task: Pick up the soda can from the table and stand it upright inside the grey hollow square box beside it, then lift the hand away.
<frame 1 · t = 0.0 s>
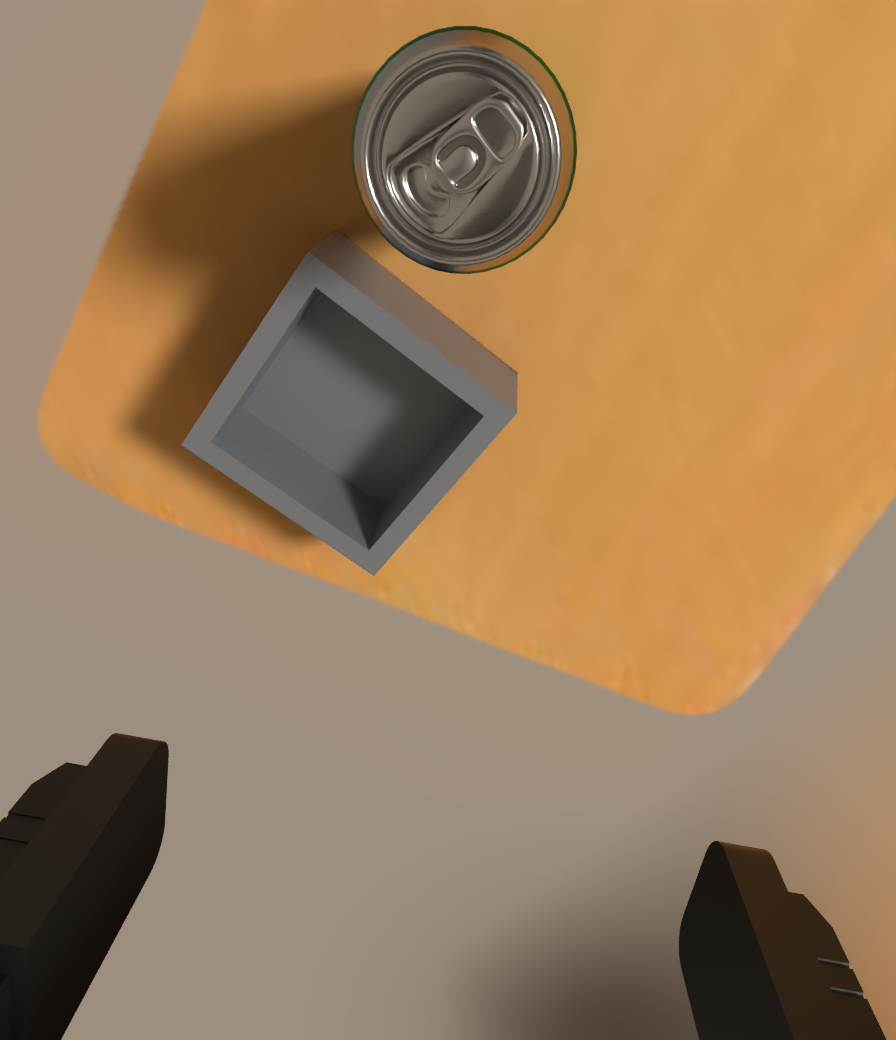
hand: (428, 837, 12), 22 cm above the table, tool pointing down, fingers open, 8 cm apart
grey hollow square box: (365, 388, 32), on the table
soda can: (483, 135, 28), on the table
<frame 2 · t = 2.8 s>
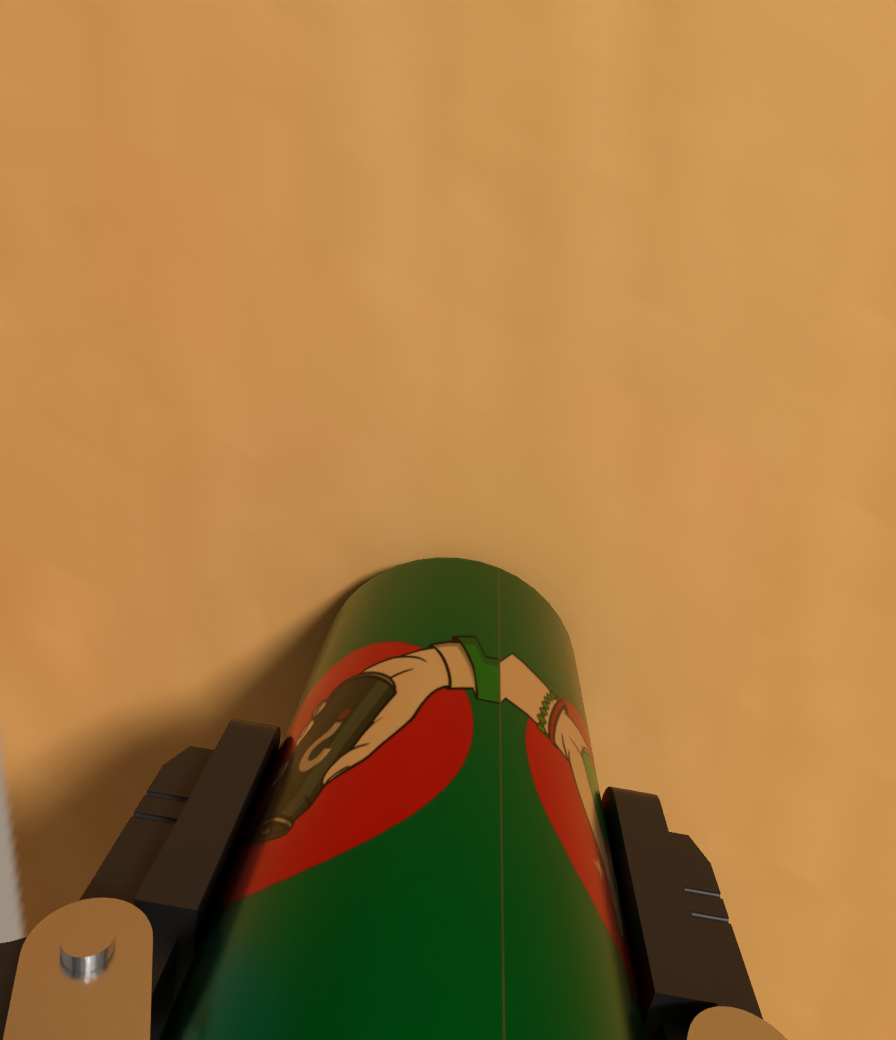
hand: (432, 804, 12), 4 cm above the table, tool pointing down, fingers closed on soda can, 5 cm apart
soda can: (450, 653, 17), on the table, touching gripper
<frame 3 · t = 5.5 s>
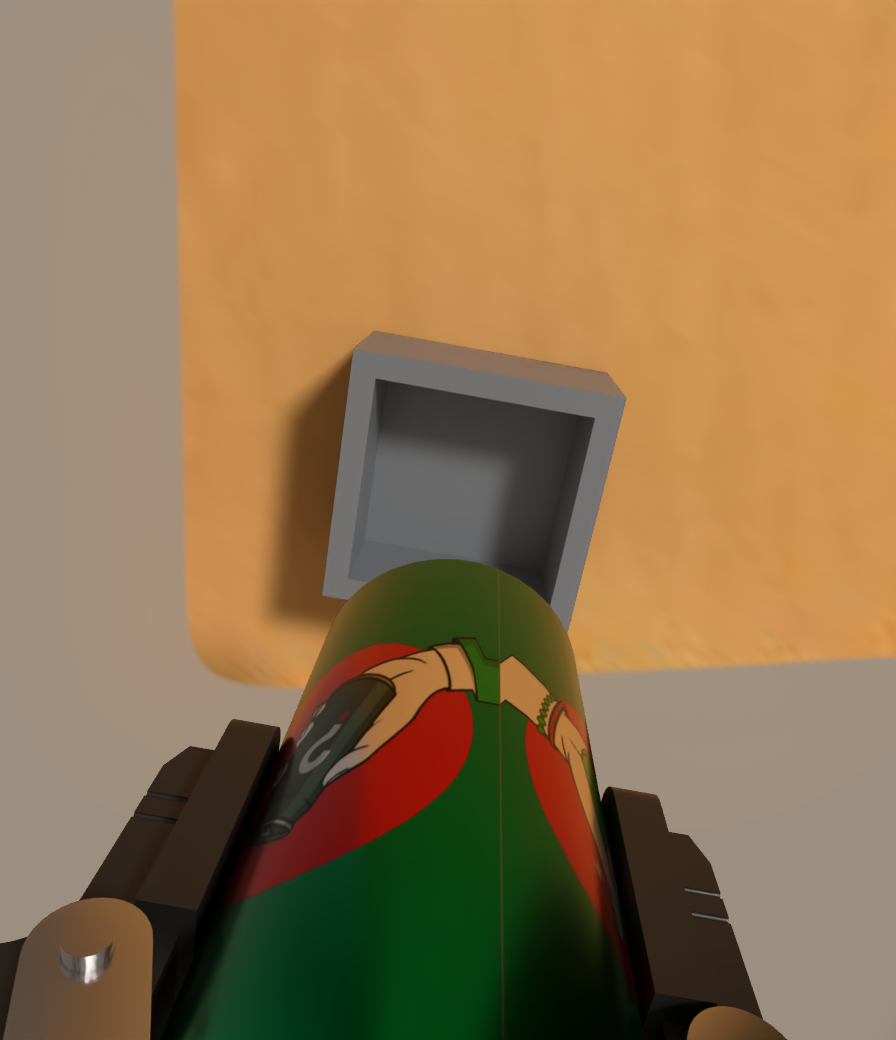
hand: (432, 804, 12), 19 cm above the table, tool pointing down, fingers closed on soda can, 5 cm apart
grey hollow square box: (470, 464, 30), on the table
soda can: (450, 655, 17), point 15 cm above the table, touching gripper
when the fingers open (6 cm above the table, at t = 8.3 s): soda can drops 1 cm, resting on grey hollow square box.
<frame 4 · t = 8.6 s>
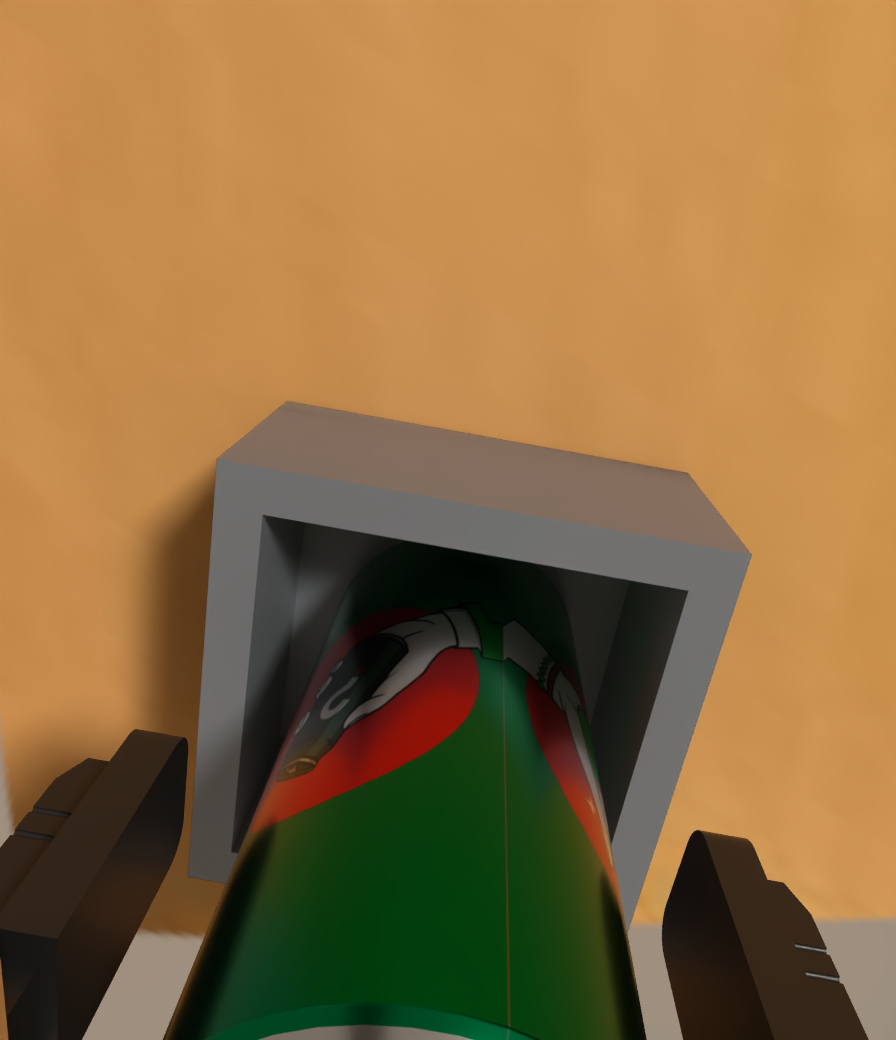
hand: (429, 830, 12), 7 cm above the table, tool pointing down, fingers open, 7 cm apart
grey hollow square box: (453, 616, 18), on the table
soda can: (454, 625, 18), point 1 cm above the table, touching grey hollow square box
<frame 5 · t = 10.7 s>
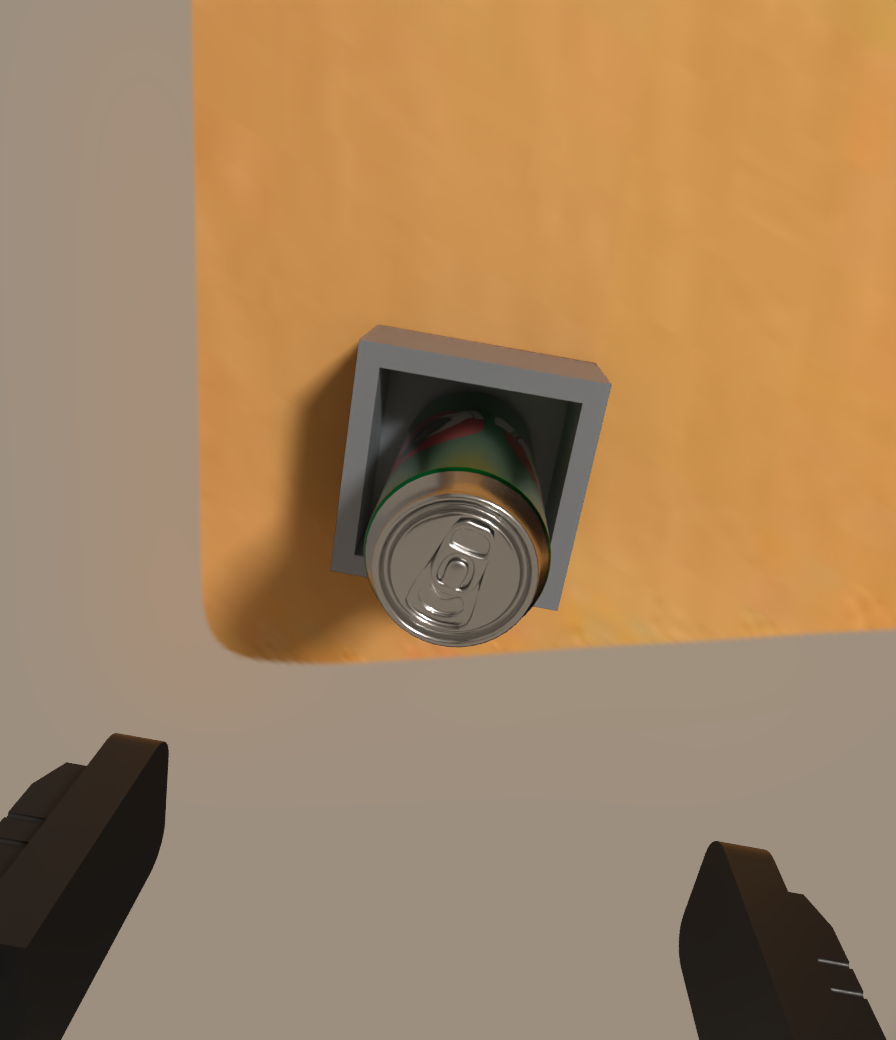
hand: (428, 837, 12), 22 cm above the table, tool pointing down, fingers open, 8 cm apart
grey hollow square box: (467, 449, 33), on the table
soda can: (468, 450, 32), point 1 cm above the table, touching grey hollow square box
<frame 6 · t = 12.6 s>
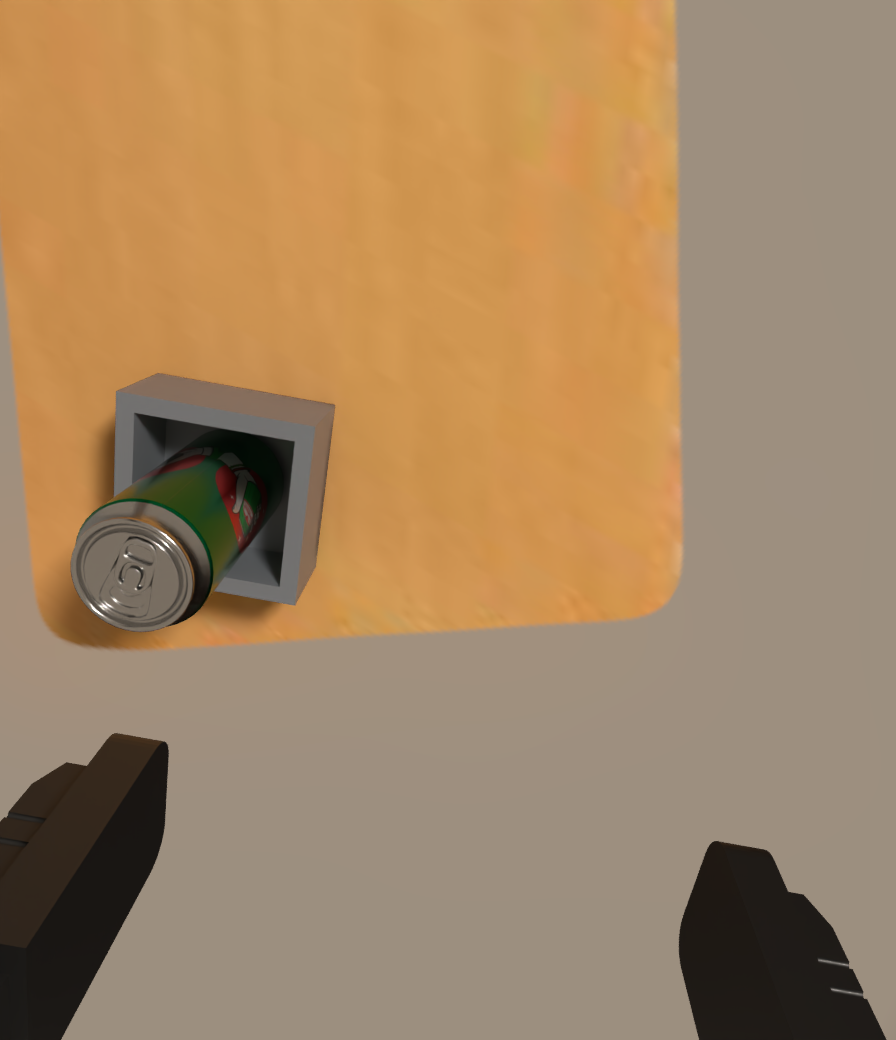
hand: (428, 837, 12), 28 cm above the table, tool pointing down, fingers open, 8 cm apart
grey hollow square box: (239, 473, 40), on the table
soda can: (237, 475, 39), point 1 cm above the table, touching grey hollow square box
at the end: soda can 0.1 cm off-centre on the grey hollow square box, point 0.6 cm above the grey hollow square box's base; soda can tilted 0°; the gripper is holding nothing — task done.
